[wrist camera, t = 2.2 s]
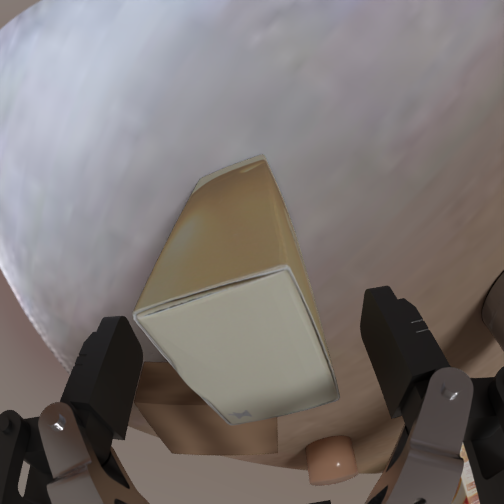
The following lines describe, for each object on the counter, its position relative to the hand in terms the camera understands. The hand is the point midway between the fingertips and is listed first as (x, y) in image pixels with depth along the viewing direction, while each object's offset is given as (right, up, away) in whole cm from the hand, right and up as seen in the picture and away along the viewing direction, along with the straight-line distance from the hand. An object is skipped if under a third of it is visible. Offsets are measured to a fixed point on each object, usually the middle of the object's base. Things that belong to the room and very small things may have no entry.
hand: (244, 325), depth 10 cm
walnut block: (-3, -12, +20) cm, 24 cm away
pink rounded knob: (+12, -26, +28) cm, 40 cm away
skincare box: (0, +5, +9) cm, 10 cm away
